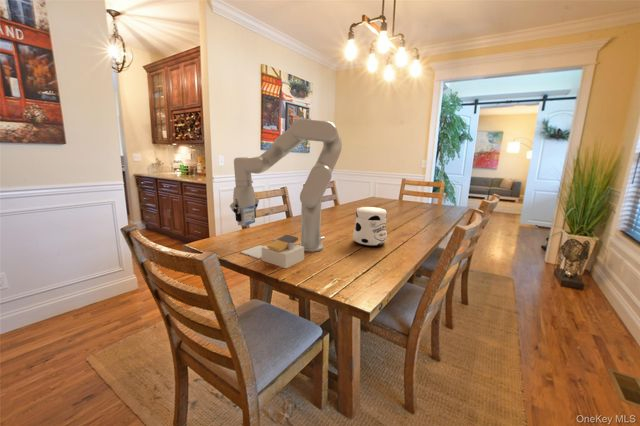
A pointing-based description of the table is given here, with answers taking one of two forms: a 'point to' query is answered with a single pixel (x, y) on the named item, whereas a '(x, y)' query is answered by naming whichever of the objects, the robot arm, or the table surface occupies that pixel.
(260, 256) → the pad
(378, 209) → the milk container
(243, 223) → the medicine box
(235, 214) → the robot arm
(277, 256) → the switch box
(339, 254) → the table surface
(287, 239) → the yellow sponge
